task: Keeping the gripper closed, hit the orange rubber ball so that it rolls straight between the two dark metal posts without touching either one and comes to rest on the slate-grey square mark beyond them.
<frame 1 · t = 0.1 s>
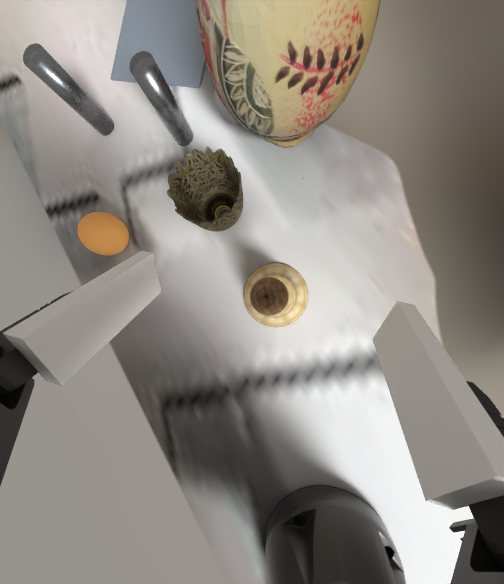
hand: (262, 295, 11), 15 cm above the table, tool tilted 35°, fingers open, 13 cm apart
ceramic jug: (283, 119, 27), on the table
gate post 2: (106, 126, 30), on the table
hand bell: (275, 295, 27), on the table
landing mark: (164, 35, 29), on the table
ball: (104, 234, 27), on the table
gate post 1: (184, 136, 29), on the table
cup: (224, 216, 28), on the table
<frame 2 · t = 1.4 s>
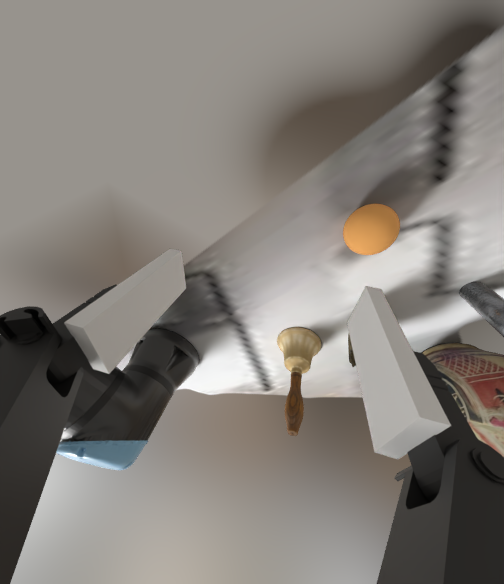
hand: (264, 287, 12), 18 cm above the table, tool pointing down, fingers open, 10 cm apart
ceramic jug: (441, 358, 34), on the table
hand bell: (298, 341, 39), on the table
ball: (369, 230, 23), on the table
gate post 1: (472, 290, 27), on the table
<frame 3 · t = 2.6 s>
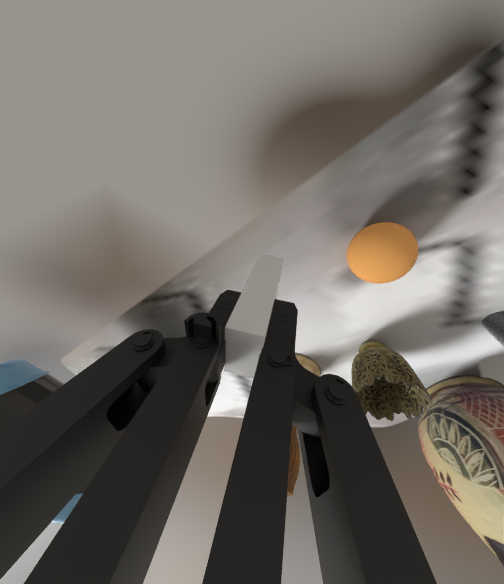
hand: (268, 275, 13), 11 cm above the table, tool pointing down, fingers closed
ceramic jug: (456, 390, 30), on the table
hand bell: (294, 368, 35), on the table
ball: (379, 253, 19), on the table
gate post 1: (497, 320, 23), on the table
cup: (371, 346, 29), on the table
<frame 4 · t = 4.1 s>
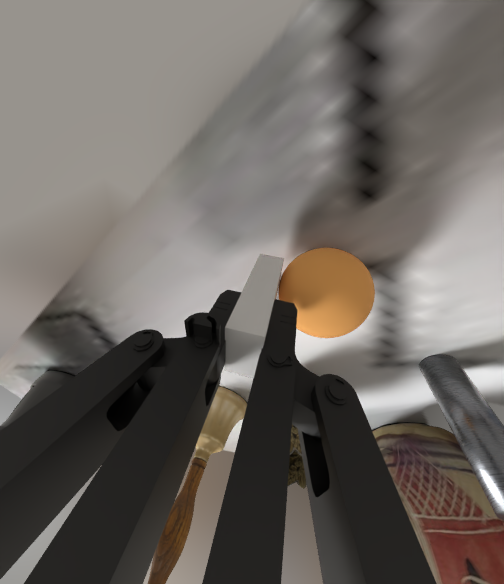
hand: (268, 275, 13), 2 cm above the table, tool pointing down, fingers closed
ceramic jug: (403, 436, 25), on the table
hand bell: (221, 400, 30), on the table
ball: (323, 292, 13), on the table
gate post 1: (437, 365, 17), on the table
cup: (297, 383, 23), on the table
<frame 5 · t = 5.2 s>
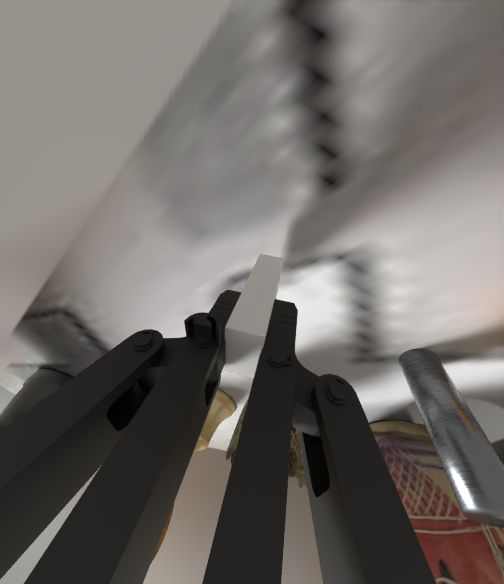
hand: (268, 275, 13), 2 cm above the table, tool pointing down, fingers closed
ceramic jug: (389, 434, 24), on the table
hand bell: (208, 397, 30), on the table
gate post 1: (417, 359, 17), on the table
cup: (280, 380, 23), on the table
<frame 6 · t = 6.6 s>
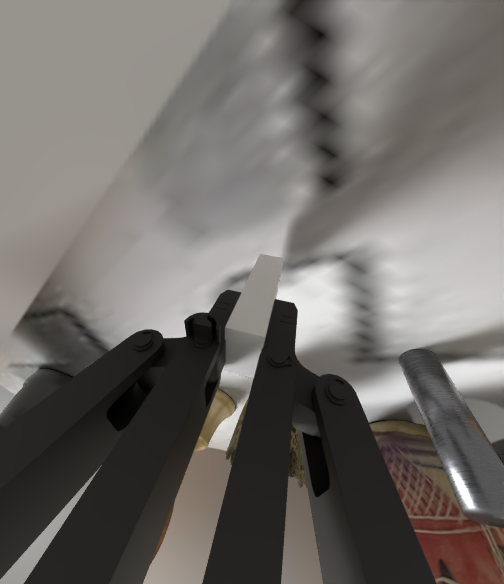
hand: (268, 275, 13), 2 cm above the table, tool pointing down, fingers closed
ceramic jug: (389, 434, 24), on the table
hand bell: (208, 397, 30), on the table
gate post 1: (417, 359, 17), on the table
cup: (280, 380, 23), on the table
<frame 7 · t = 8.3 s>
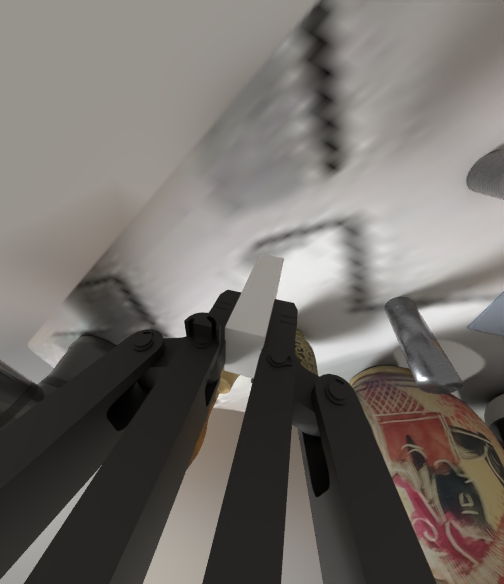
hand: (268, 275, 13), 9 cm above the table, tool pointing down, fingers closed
ceramic jug: (380, 381, 29), on the table
gate post 2: (491, 172, 14), on the table
hand bell: (229, 355, 35), on the table
gate post 1: (398, 306, 22), on the table
cup: (291, 333, 28), on the table
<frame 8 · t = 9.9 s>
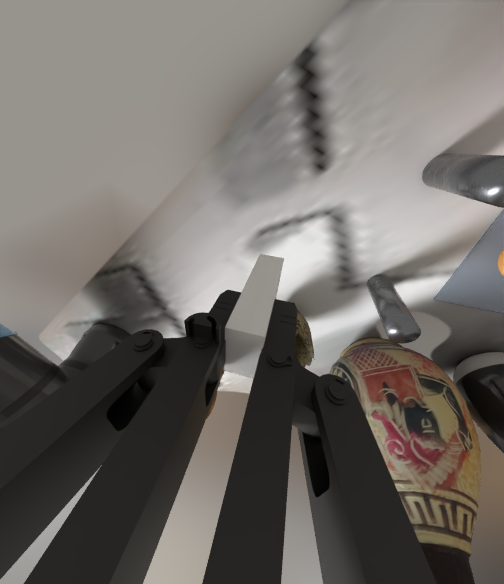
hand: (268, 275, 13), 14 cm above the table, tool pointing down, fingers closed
ceramic jug: (367, 353, 34), on the table
gate post 2: (439, 170, 19), on the table
grey smart speaker: (484, 363, 30), on the table
gate post 1: (378, 283, 26), on the table
cup: (289, 312, 33), on the table
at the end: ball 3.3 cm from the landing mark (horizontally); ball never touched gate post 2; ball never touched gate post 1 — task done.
